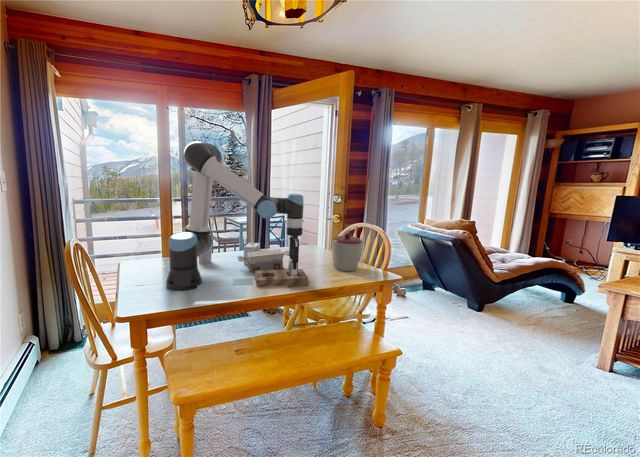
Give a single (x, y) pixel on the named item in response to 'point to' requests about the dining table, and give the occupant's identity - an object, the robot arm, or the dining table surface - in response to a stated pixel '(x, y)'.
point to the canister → (346, 252)
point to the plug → (290, 268)
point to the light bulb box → (251, 249)
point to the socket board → (280, 278)
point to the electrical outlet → (264, 260)
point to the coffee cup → (206, 256)
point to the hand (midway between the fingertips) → (293, 273)
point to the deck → (242, 281)
